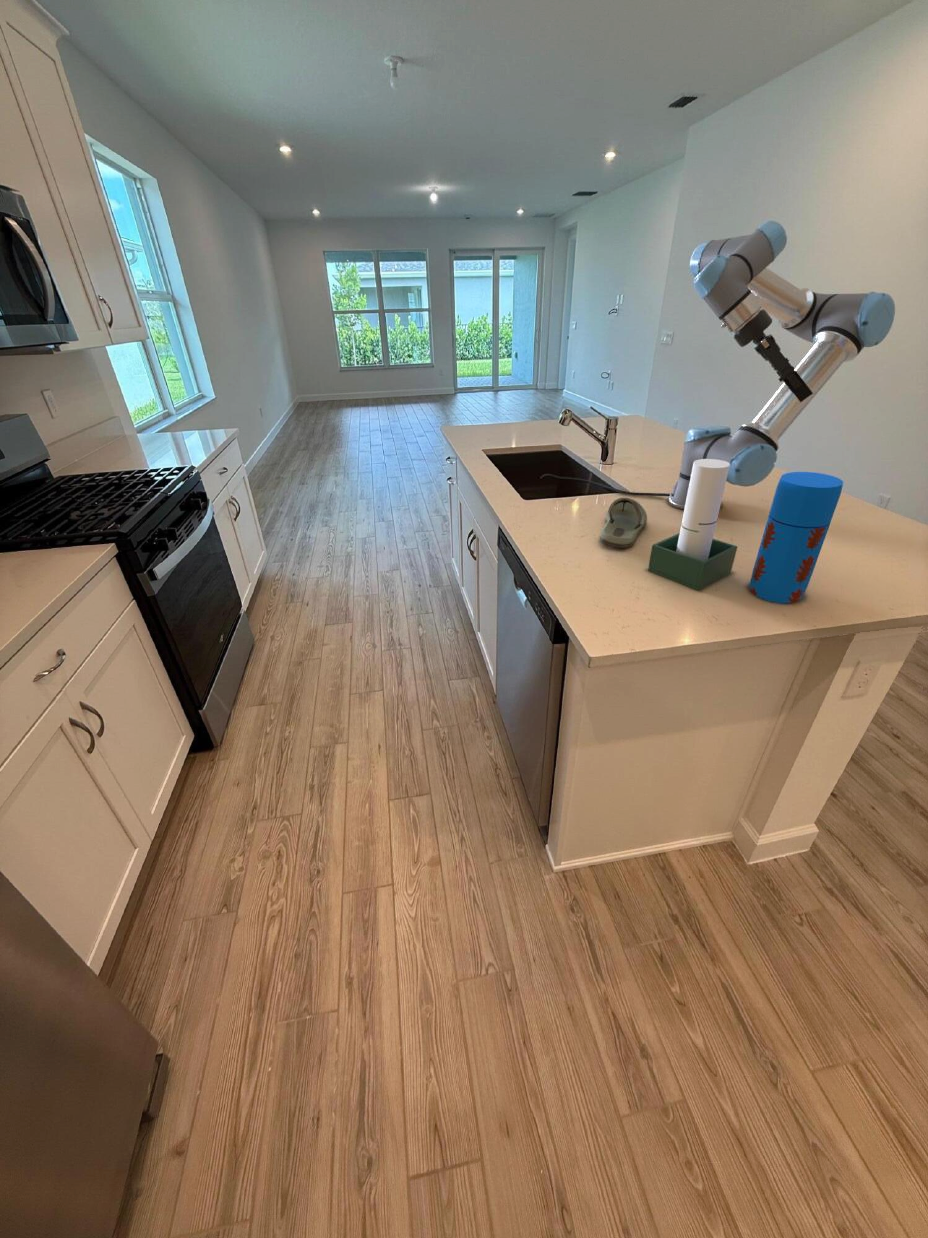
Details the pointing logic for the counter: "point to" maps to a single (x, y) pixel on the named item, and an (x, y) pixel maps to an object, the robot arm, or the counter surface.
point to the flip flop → (623, 523)
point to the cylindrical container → (702, 507)
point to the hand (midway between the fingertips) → (802, 392)
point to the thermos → (794, 535)
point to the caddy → (691, 563)
